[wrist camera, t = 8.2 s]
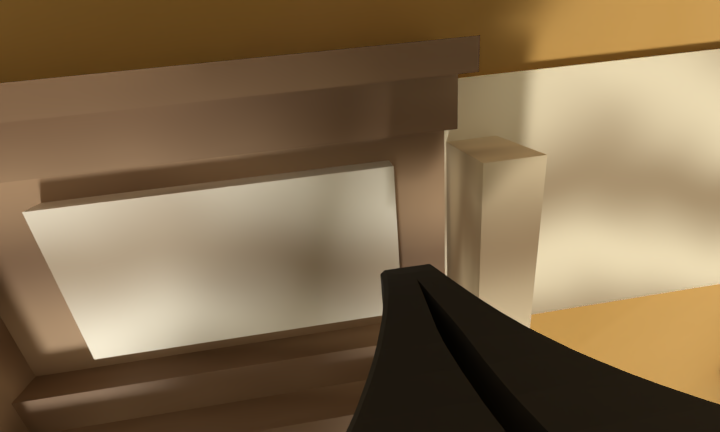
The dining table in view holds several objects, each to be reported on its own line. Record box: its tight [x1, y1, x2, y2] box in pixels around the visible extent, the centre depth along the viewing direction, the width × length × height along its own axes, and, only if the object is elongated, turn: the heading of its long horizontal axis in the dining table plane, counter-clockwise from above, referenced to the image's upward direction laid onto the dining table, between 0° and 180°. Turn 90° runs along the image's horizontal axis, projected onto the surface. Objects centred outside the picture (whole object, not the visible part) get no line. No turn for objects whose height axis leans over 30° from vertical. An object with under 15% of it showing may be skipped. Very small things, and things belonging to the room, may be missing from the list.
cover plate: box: [444, 48, 720, 328], centre depth 13 cm, size 10×15×4 cm, turn 96°
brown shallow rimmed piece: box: [0, 35, 480, 432], centre depth 12 cm, size 12×17×3 cm
